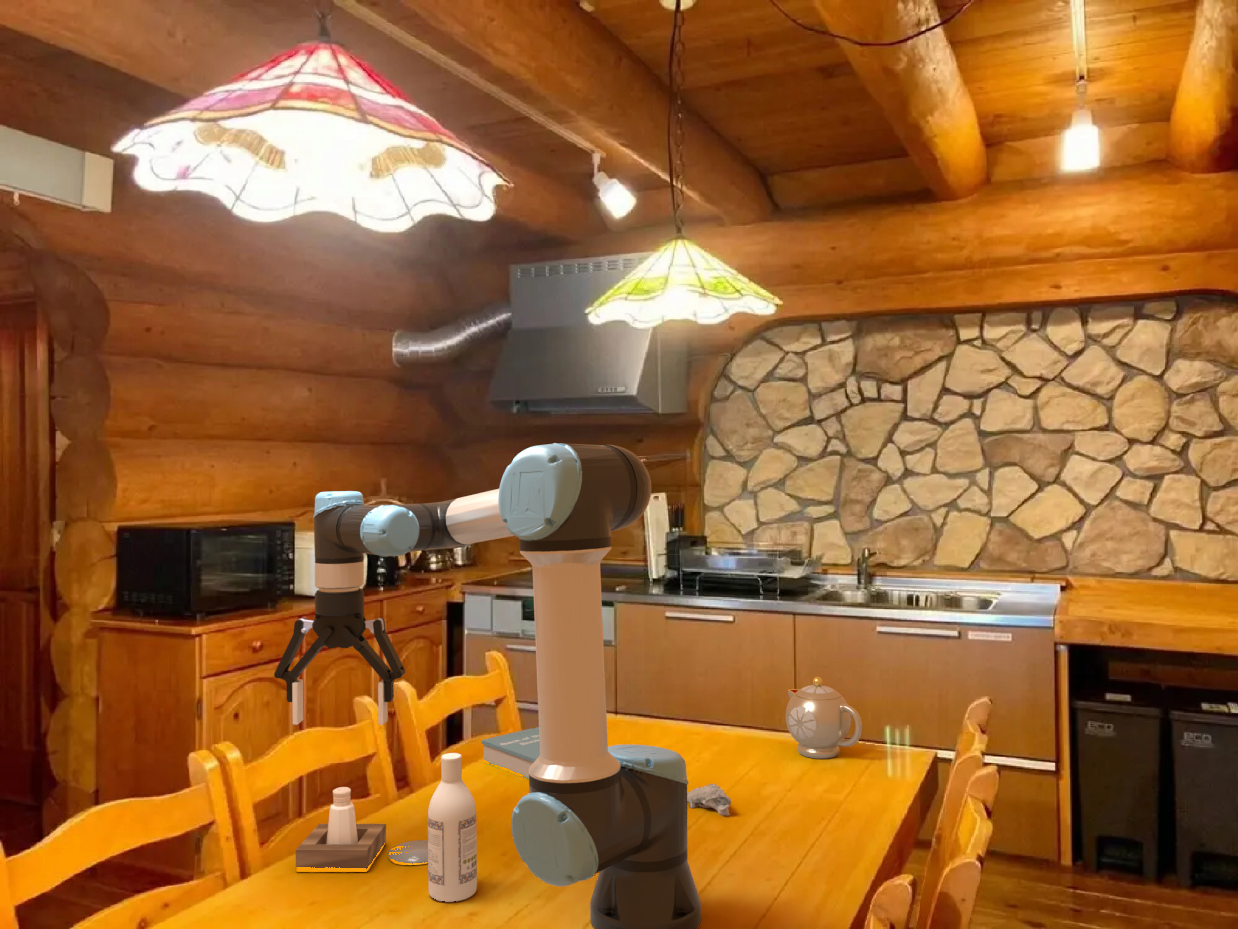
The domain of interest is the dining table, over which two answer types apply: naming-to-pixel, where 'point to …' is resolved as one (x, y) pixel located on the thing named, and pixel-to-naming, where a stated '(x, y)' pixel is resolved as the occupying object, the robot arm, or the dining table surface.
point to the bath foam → (452, 835)
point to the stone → (710, 798)
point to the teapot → (820, 720)
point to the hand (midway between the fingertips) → (340, 722)
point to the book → (513, 750)
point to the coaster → (411, 852)
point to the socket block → (341, 848)
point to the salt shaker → (342, 819)
